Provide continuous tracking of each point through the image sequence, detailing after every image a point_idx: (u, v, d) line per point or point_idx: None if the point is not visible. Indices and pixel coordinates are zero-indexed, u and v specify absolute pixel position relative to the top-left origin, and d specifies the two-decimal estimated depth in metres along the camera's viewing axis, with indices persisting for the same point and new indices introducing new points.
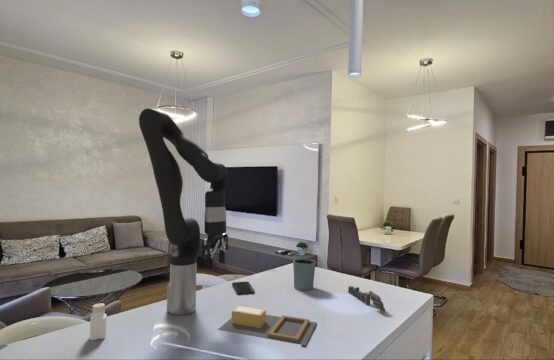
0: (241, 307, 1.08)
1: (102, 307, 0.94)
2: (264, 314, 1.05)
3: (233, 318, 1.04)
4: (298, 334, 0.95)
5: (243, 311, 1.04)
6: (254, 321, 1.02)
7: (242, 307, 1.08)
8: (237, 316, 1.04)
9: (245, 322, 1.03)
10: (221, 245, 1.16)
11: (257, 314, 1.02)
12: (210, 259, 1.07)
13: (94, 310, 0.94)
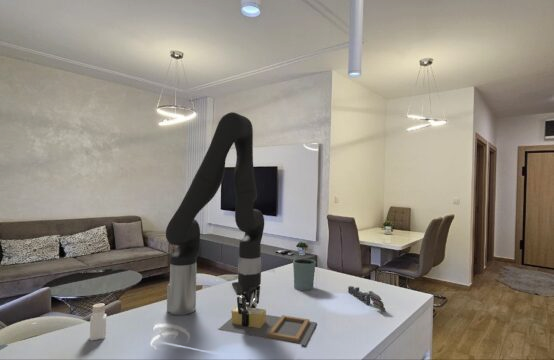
0: None
1: (102, 307, 0.94)
2: (264, 314, 1.05)
3: (233, 318, 1.04)
4: (298, 334, 0.95)
5: None
6: (254, 321, 1.02)
7: None
8: (237, 316, 1.04)
9: None
10: None
11: (257, 314, 1.02)
12: (246, 316, 1.02)
13: (94, 310, 0.94)
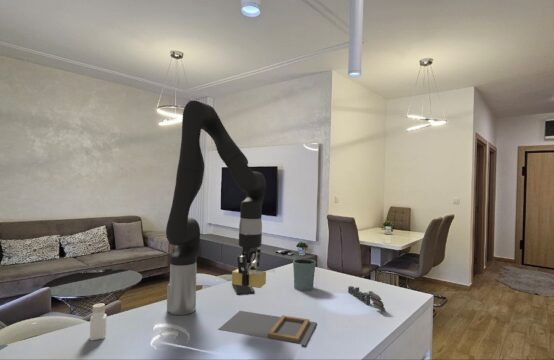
0: None
1: (102, 307, 0.94)
2: (264, 275, 1.05)
3: (233, 279, 1.05)
4: (298, 334, 0.95)
5: None
6: (254, 281, 1.02)
7: None
8: (237, 277, 1.04)
9: None
10: (253, 260, 1.08)
11: (257, 274, 1.03)
12: (246, 275, 1.02)
13: (94, 310, 0.94)
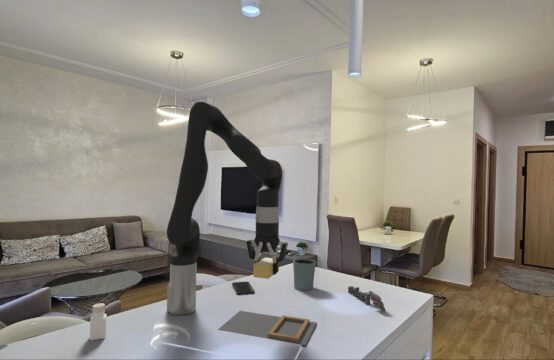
0: None
1: (102, 307, 0.94)
2: (264, 269, 0.99)
3: None
4: (298, 334, 0.95)
5: (263, 259, 1.06)
6: None
7: None
8: None
9: None
10: (274, 252, 1.03)
11: (256, 263, 1.01)
12: (255, 262, 1.04)
13: (94, 310, 0.94)
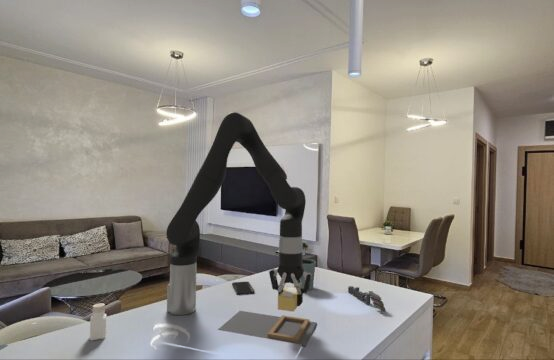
0: None
1: (102, 307, 0.94)
2: (289, 301, 0.96)
3: None
4: (298, 334, 0.95)
5: (286, 289, 1.03)
6: None
7: None
8: None
9: None
10: (298, 283, 1.00)
11: (280, 295, 0.98)
12: (279, 292, 1.02)
13: (94, 310, 0.94)
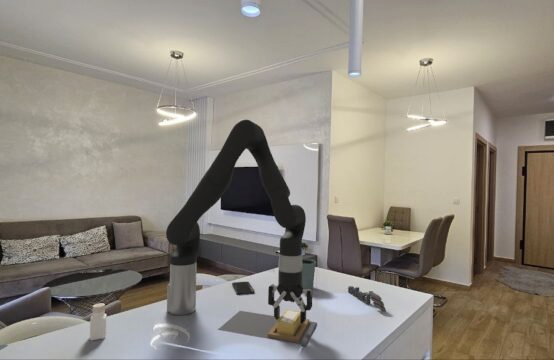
0: (296, 313, 1.04)
1: (102, 307, 0.94)
2: (289, 327, 0.96)
3: None
4: (298, 334, 0.95)
5: (285, 313, 1.03)
6: None
7: (296, 313, 1.03)
8: None
9: None
10: (300, 301, 1.00)
11: (279, 320, 0.98)
12: (275, 308, 1.02)
13: (94, 310, 0.94)
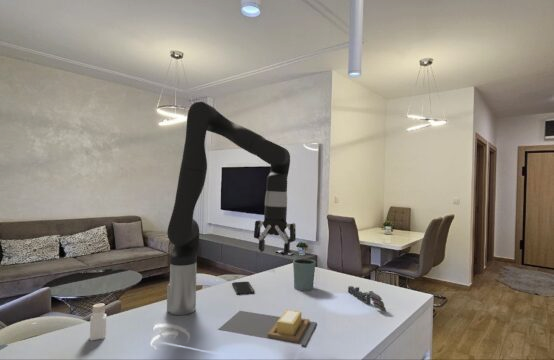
0: (296, 313, 1.04)
1: (102, 307, 0.94)
2: (289, 327, 0.96)
3: None
4: (298, 334, 0.95)
5: (285, 313, 1.03)
6: None
7: (296, 313, 1.03)
8: None
9: None
10: (284, 234, 1.07)
11: (279, 320, 0.98)
12: (259, 241, 1.09)
13: (94, 310, 0.94)
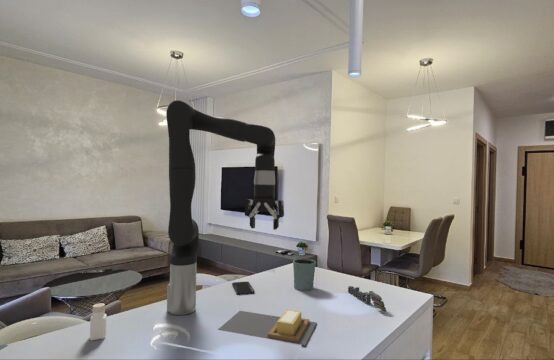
0: (296, 313, 1.04)
1: (102, 307, 0.94)
2: (289, 327, 0.96)
3: None
4: (298, 334, 0.95)
5: (285, 313, 1.03)
6: None
7: (296, 313, 1.03)
8: None
9: None
10: None
11: (279, 320, 0.98)
12: (250, 218, 1.16)
13: (94, 310, 0.94)
